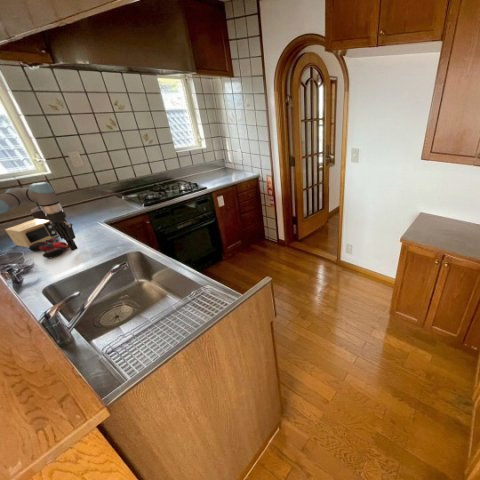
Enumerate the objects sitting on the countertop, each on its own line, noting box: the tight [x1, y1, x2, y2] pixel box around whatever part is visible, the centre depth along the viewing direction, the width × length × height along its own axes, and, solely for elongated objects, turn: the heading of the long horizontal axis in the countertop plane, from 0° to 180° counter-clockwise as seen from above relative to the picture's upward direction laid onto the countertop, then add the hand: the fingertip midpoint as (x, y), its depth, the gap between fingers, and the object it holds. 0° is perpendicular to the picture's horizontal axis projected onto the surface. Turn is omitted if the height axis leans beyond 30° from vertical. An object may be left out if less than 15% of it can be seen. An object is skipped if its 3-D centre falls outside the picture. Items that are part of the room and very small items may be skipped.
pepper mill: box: [30, 202, 52, 223], centre depth 190 cm, size 16×11×18 cm
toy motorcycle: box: [28, 237, 70, 259], centre depth 155 cm, size 25×5×16 cm
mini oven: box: [4, 218, 58, 248], centre depth 163 cm, size 13×16×11 cm
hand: (74, 249), depth 152 cm, fingers closed
